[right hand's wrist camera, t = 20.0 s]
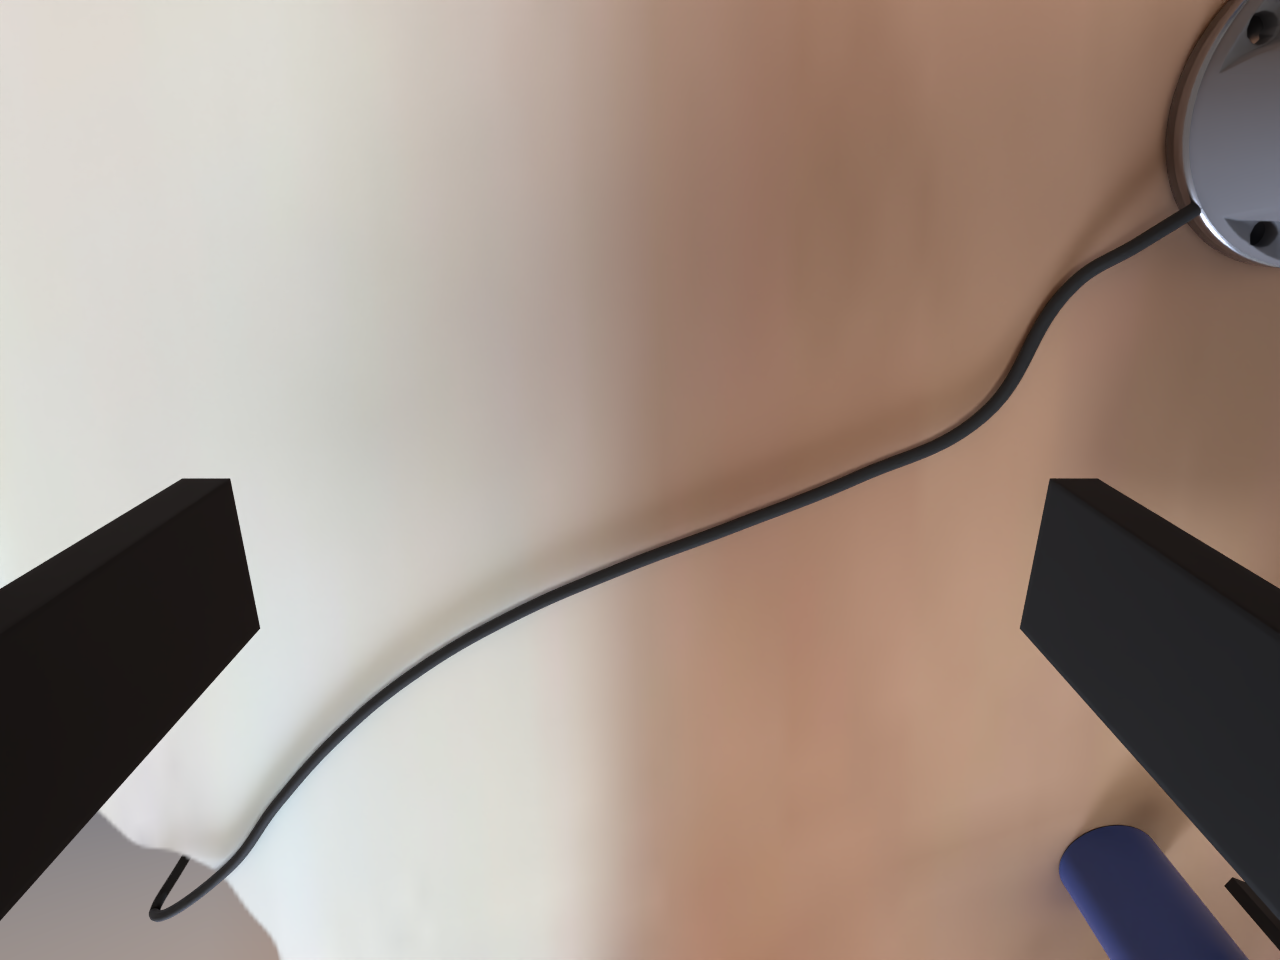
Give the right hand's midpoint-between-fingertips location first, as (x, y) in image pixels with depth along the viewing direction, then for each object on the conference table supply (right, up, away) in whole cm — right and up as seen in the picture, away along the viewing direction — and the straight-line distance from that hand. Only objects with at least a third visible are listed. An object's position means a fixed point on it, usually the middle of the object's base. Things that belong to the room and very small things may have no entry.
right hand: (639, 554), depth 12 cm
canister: (+34, -27, +43) cm, 61 cm away
